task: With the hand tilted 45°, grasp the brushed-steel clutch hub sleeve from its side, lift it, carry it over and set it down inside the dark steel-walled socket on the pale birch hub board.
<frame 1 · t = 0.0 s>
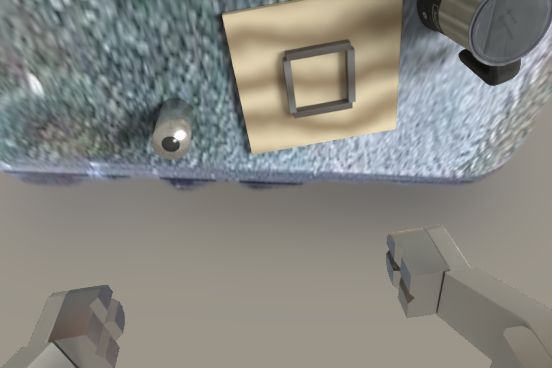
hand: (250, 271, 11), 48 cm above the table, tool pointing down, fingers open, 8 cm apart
hub board: (317, 75, 59), on the table
hub sleeve: (177, 113, 60), on the table
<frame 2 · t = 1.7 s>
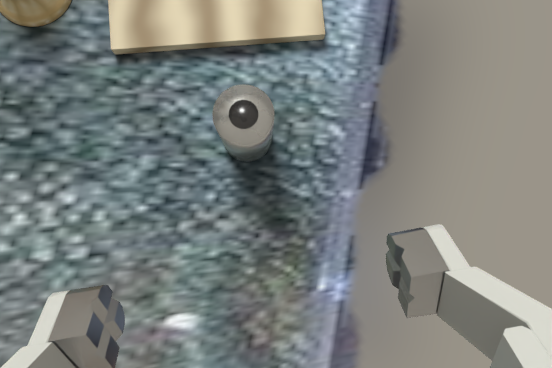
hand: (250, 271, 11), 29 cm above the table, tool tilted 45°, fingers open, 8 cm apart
hub sleeve: (247, 137, 41), on the table
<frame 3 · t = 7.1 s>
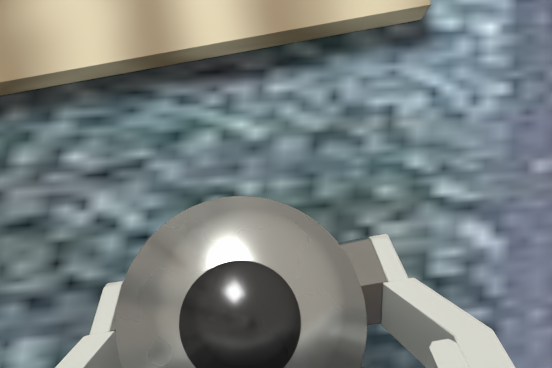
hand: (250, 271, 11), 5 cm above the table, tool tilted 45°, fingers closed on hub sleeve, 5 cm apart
hub sleeve: (264, 274, 17), on the table, touching gripper
when the fingers open (8 cm above the table, at t = 13.2 s): hub sleeve drops 1 cm, resting on hub board.
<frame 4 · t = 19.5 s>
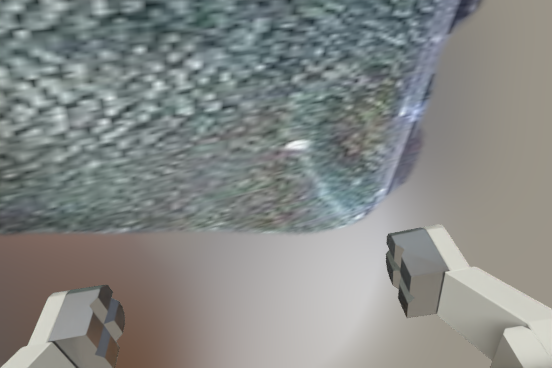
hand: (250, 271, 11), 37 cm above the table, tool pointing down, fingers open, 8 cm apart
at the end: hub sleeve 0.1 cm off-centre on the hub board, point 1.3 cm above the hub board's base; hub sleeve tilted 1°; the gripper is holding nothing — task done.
